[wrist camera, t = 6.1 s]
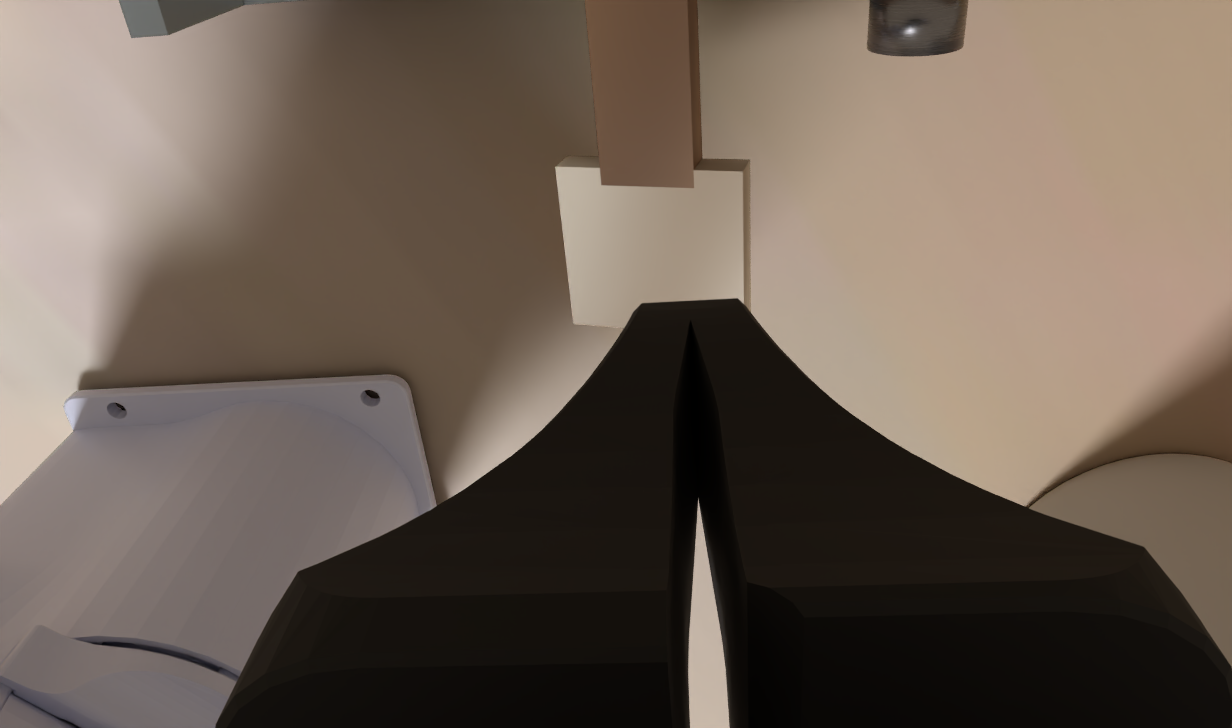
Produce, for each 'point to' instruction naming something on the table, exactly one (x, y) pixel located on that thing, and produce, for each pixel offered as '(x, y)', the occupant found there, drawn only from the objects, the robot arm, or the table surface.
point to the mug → (1164, 523)
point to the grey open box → (175, 14)
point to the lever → (650, 174)
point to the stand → (916, 27)
